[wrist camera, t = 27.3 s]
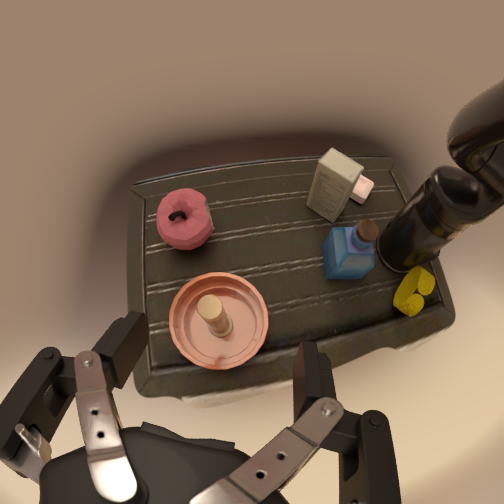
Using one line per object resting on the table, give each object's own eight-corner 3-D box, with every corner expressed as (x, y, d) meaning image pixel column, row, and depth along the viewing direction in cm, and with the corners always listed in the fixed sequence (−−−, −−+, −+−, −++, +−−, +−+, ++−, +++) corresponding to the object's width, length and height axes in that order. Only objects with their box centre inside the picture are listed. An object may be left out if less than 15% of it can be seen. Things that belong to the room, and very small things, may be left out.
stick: (232, 313, 41) (227, 289, 28) (233, 337, 40) (227, 324, 27) (209, 314, 41) (192, 289, 28) (208, 337, 40) (191, 324, 27)
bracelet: (401, 312, 44) (388, 303, 44) (423, 273, 43) (410, 264, 43) (415, 320, 36) (400, 310, 37) (440, 276, 36) (426, 265, 36)
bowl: (263, 283, 44) (266, 271, 38) (266, 368, 39) (270, 368, 33) (180, 284, 44) (171, 272, 38) (178, 367, 38) (168, 367, 33)
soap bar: (333, 166, 54) (336, 158, 52) (371, 189, 52) (375, 181, 50) (321, 182, 52) (324, 174, 50) (361, 206, 50) (366, 198, 48)
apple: (219, 258, 45) (213, 229, 36) (168, 265, 45) (150, 239, 35) (212, 208, 49) (206, 173, 40) (165, 216, 48) (150, 183, 39)
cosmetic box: (343, 209, 50) (366, 168, 39) (332, 224, 48) (355, 184, 37) (315, 189, 51) (331, 145, 40) (303, 204, 50) (318, 160, 39)
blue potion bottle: (322, 244, 47) (343, 207, 36) (355, 245, 47) (383, 210, 36) (325, 279, 44) (350, 250, 33) (359, 279, 45) (391, 251, 34)
